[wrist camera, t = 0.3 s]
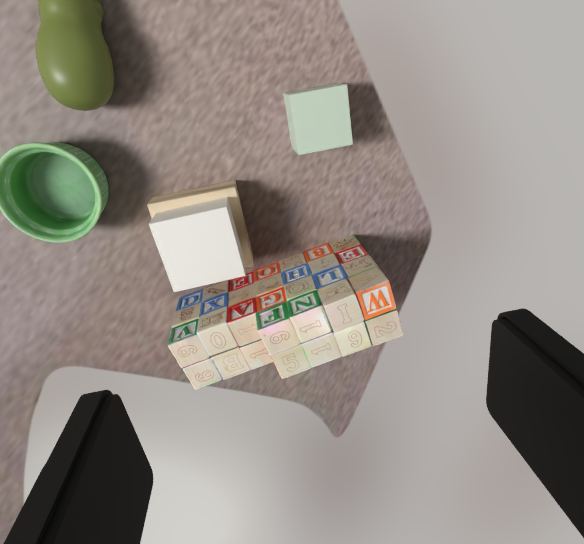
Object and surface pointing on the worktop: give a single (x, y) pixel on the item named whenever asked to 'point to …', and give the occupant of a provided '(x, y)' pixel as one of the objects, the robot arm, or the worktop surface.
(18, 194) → the ramekin
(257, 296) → the stack of blocks
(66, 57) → the pear
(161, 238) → the tower top
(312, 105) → the sage cube
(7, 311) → the worktop surface
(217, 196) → the tower base
